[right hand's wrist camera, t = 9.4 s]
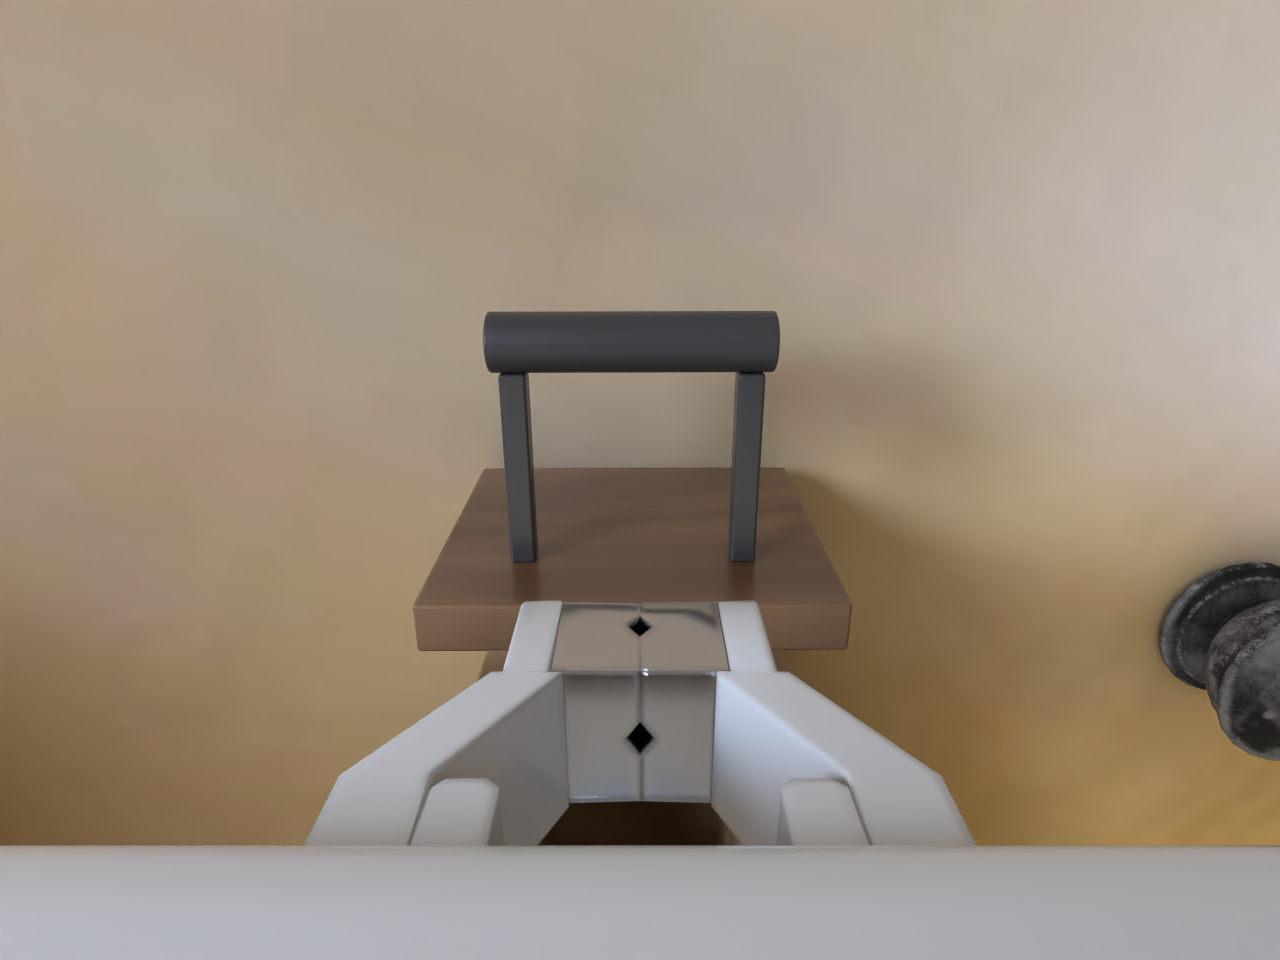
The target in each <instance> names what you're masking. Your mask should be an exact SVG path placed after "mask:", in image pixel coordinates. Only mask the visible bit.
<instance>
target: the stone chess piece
mask: <svg viewBox="0 0 1280 960" xmlns="http://www.w3.org/2000/svg"><path fill="white" fill-rule="evenodd" d="M1160 651H1161V654H1162V657H1163V661H1164V663H1165V664H1166V666H1167V667H1168V668H1169V670H1170V671H1171V672H1172V674H1173V675H1174V676H1176V677H1177V678H1179V679H1180V680H1182V681H1183V682H1185V683H1186V684H1188V685H1191V686H1194V687H1197V688H1200V689H1204V690H1207V692H1208V695H1209V698H1210V700H1211V703H1212V706H1213V708H1214V709H1215V710H1216V712H1217V715H1218V719H1219V722H1220V726H1221V728H1222V730H1223V731H1224V732H1225V734H1226V735H1227V736H1228V738H1229V739H1230V740H1231V742H1232V743H1233V744H1235V745H1236V746H1238V747H1239V748H1241V749H1242V750H1244V751H1245V752H1247V753H1248V754H1250V755H1254V756H1257V757H1260V758H1264V759H1267V760H1276V761H1280V567H1279V566H1276V565H1273V564H1269V563H1251V562H1250V563H1245V564H1239V565H1233V566H1229V567H1226V568H1224V569H1221V570H1218V571H1216V572H1213V573H1211V574H1209V575H1207V576H1206V577H1204V578H1203V579H1201V580H1199V581H1198V582H1196V583H1195V584H1193V585H1192V586H1191V587H1190V588H1189V589H1188V590H1186V591H1185V592H1184V593H1183V594H1182V595H1181V596H1180V597H1179V598H1178V599H1177V600H1176V602H1175V603H1174V605H1173V606H1172V608H1171V609H1170V611H1169V612H1168V614H1167V615H1166V618H1165V621H1164V624H1163V626H1162V629H1161V632H1160Z"/></svg>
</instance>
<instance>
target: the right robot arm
mask: <svg viewBox="0 0 1280 960" xmlns="http://www.w3.org/2000/svg"><path fill="white" fill-rule="evenodd" d="M624 801H654V802H690V803H711V806H712V808H713V809H714V810H715V811H716V813H717V814H718V815H719V816H720V818H721V819H722V820H723V821H724V823H725V824H726V825H727V826H728V828H729V829H730V830H731V831H732V833H733V834H734V835H735V836H736V838H737V839H738V840H739V841H740V843H741V844H742V845H604V846H603V845H600V846H538V844H539V843H540V842H541V841H542V839H543V838H544V837H545V836H546V835H547V833H548V832H549V831H550V830H551V828H552V827H553V826H554V825H555V823H556V822H557V821H558V820H559V818H560V817H561V816H562V815H563V813H564V812H565V811H566V810H567V809H568V807H569V803H589V802H624ZM0 960H1280V845H976V844H975V842H974V840H973V838H972V836H971V834H970V832H969V830H968V828H967V826H966V824H965V822H964V820H963V818H962V816H961V814H960V812H959V810H958V808H957V806H956V804H955V802H954V800H953V798H952V796H951V794H950V792H949V790H948V788H947V786H946V784H945V782H944V780H943V778H942V776H941V775H939V774H938V773H936V772H935V771H933V770H932V769H930V768H929V767H927V766H926V765H924V764H923V763H922V762H920V761H919V760H917V759H916V758H914V757H913V756H911V755H910V754H908V753H907V752H905V751H904V750H902V749H901V748H900V747H898V746H897V745H895V744H894V743H892V742H891V741H889V740H888V739H886V738H885V737H883V736H882V735H881V734H879V733H878V732H876V731H875V730H873V729H872V728H870V727H869V726H867V725H866V724H864V723H863V722H862V721H860V720H859V719H857V718H856V717H854V716H853V715H851V714H850V713H848V712H847V711H845V710H844V709H842V708H841V707H840V706H838V705H837V704H835V703H834V702H832V701H831V700H829V699H828V698H826V697H825V696H823V695H822V694H821V693H819V692H818V691H816V690H815V689H813V688H812V687H810V686H809V685H807V684H806V683H804V682H803V681H802V680H800V679H799V678H797V677H796V676H794V675H793V674H791V673H790V672H779V671H777V669H776V665H775V662H774V658H773V654H772V651H771V647H770V644H769V640H768V637H767V633H766V630H765V626H764V623H763V619H762V616H761V612H760V609H759V605H758V603H757V602H756V601H754V600H745V601H722V602H717V601H705V602H664V603H640V602H587V601H564V603H563V602H562V601H561V600H553V601H525V602H524V603H523V604H522V605H521V608H520V611H519V615H518V618H517V622H516V626H515V629H514V633H513V636H512V640H511V643H510V647H509V651H508V654H507V658H506V661H505V665H504V668H503V671H501V672H490V673H489V674H487V675H486V676H484V677H483V678H481V679H480V680H478V681H477V682H476V683H474V684H473V685H471V686H470V687H468V688H467V689H465V690H464V691H462V692H461V693H459V694H458V695H456V696H455V697H453V698H452V699H451V700H449V701H448V702H446V703H445V704H443V705H442V706H440V707H439V708H437V709H436V710H434V711H433V712H431V713H430V714H428V715H427V716H426V717H424V718H423V719H421V720H420V721H418V722H417V723H415V724H414V725H412V726H411V727H409V728H408V729H406V730H405V731H403V732H402V733H401V734H399V735H398V736H396V737H395V738H393V739H392V740H390V741H389V742H387V743H386V744H384V745H383V746H381V747H380V748H378V749H377V750H376V751H374V752H373V753H371V754H370V755H368V756H367V757H365V758H364V759H362V760H361V761H359V762H358V763H356V764H355V765H353V766H352V767H351V768H349V769H348V770H346V771H345V772H343V773H342V774H340V775H339V777H338V779H337V781H336V783H335V785H334V787H333V789H332V791H331V793H330V795H329V797H328V799H327V800H326V802H325V804H324V806H323V808H322V810H321V812H320V814H319V816H318V818H317V820H316V822H315V824H314V826H313V828H312V830H311V832H310V834H309V836H308V838H307V840H306V842H305V844H304V845H7V846H0Z"/></svg>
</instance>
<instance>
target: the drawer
mask: <svg viewBox="0 0 1280 960" xmlns="http://www.w3.org/2000/svg"><path fill="white" fill-rule="evenodd" d="M483 345H484V356H485V362H486V365H487V368H488V370H489V372H491V373H500V375H499V377H498V378H499V393H500V407H501V421H502V436H503V450H504V464H505V469H484V470H483V472H482V474H481V476H480V478H479V480H478V482H477V484H476V486H475V488H474V490H473V492H472V494H471V495H470V497H469V499H468V501H467V503H466V505H465V507H464V509H463V511H462V513H461V515H460V517H459V519H458V520H457V522H456V524H455V526H454V528H453V530H452V532H451V534H450V536H449V538H448V540H447V542H446V544H445V545H444V547H443V549H442V551H441V553H440V555H439V557H438V559H437V561H436V563H435V565H434V567H433V569H432V570H431V572H430V574H429V576H428V578H427V580H426V582H425V584H424V586H423V588H422V590H421V592H420V593H419V595H418V597H417V599H416V601H415V603H414V605H413V612H414V620H415V628H416V636H417V644H418V649H419V650H420V651H486V654H485V657H484V660H483V663H482V666H481V669H480V673H479V676H478V679H477V681H478V680H480V679H481V678H483V677H484V676H486V675H487V674H489V673H490V672H501V671H503V668H504V665H505V661H506V658H507V654H508V651H509V647H510V643H511V640H512V636H513V633H514V629H515V626H516V622H517V618H518V615H519V611H520V608H521V605H522V604H523V603H524V602H525V601H553V600H561V601H562V602H563V603H564V601H587V602H640V603H664V602H705V601H717V602H722V601H745V600H754V601H756V602H757V603H758V605H759V609H760V612H761V616H762V619H763V623H764V626H765V630H766V633H767V637H768V640H769V644H770V647H771V651H772V654H773V658H774V662H775V665H776V669H777V671H779V672H787V669H786V666H785V662H784V659H783V656H782V652H781V650H807V649H846V648H847V646H848V638H849V629H850V620H851V611H852V604H851V602H850V600H849V598H848V596H847V594H846V592H845V590H844V588H843V586H842V584H841V582H840V580H839V578H838V576H837V574H836V572H835V570H834V568H833V566H832V564H831V562H830V560H829V558H828V555H827V553H826V551H825V549H824V547H823V545H822V543H821V541H820V539H819V537H818V535H817V533H816V531H815V529H814V527H813V525H812V523H811V521H810V519H809V517H808V515H807V513H806V511H805V509H804V507H803V505H802V503H801V501H800V499H799V497H798V495H797V493H796V491H795V489H794V487H793V485H792V483H791V481H790V479H789V477H788V475H787V473H786V471H785V469H784V468H760V461H761V444H762V427H763V409H764V392H765V375H764V373H763V372H773V371H775V369H776V366H777V363H778V357H779V346H780V329H779V320H778V316H777V313H776V312H774V311H623V312H488V313H487V314H486V317H485V321H484V330H483ZM581 372H736V380H735V403H734V426H733V449H732V468H550V469H534V467H533V449H532V431H531V413H530V395H529V377H528V373H581ZM600 845H603V846H604V845H742V844H741V843H740V841H739V840H738V839H737V838H736V836H735V835H734V834H733V833H732V831H731V830H730V829H729V828H728V826H727V825H726V824H725V823H724V821H723V820H722V819H721V818H720V816H719V815H718V814H717V813H716V811H715V810H714V809H713V808H712V806H711V803H690V802H654V801H624V802H589V803H569V807H568V809H567V810H566V811H565V812H564V813H563V815H562V816H561V817H560V818H559V820H558V821H557V822H556V823H555V825H554V826H553V827H552V828H551V830H550V831H549V832H548V833H547V835H546V836H545V837H544V838H543V839H542V841H541V842H540V843H539V844H538V846H600Z"/></svg>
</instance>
